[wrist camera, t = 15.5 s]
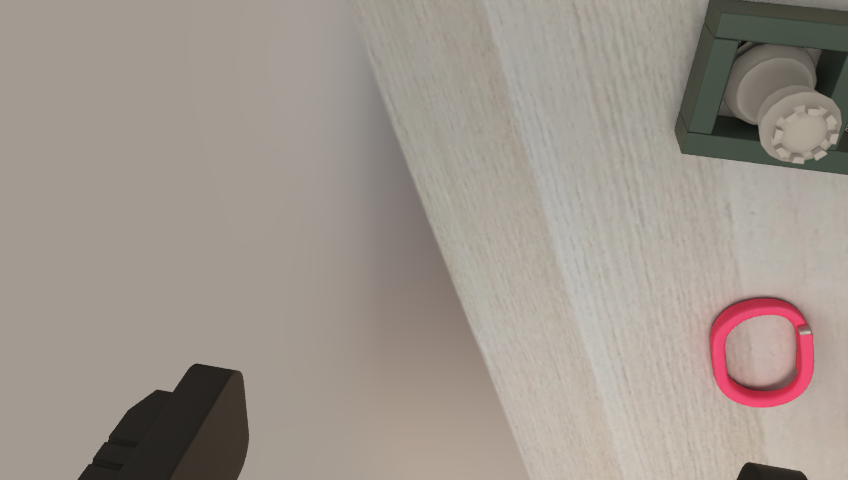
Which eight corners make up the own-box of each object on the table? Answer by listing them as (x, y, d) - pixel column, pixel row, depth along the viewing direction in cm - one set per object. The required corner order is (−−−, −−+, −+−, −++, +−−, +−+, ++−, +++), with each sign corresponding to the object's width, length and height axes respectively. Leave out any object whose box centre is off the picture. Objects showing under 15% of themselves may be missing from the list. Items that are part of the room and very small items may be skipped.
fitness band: (809, 390, 46) (816, 407, 45) (714, 397, 48) (718, 414, 47) (807, 290, 42) (814, 305, 41) (704, 302, 44) (708, 317, 43)
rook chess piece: (792, 15, 35) (845, 66, 28) (822, 91, 36) (880, 155, 30) (702, 60, 37) (732, 117, 30) (736, 130, 38) (771, 199, 31)
